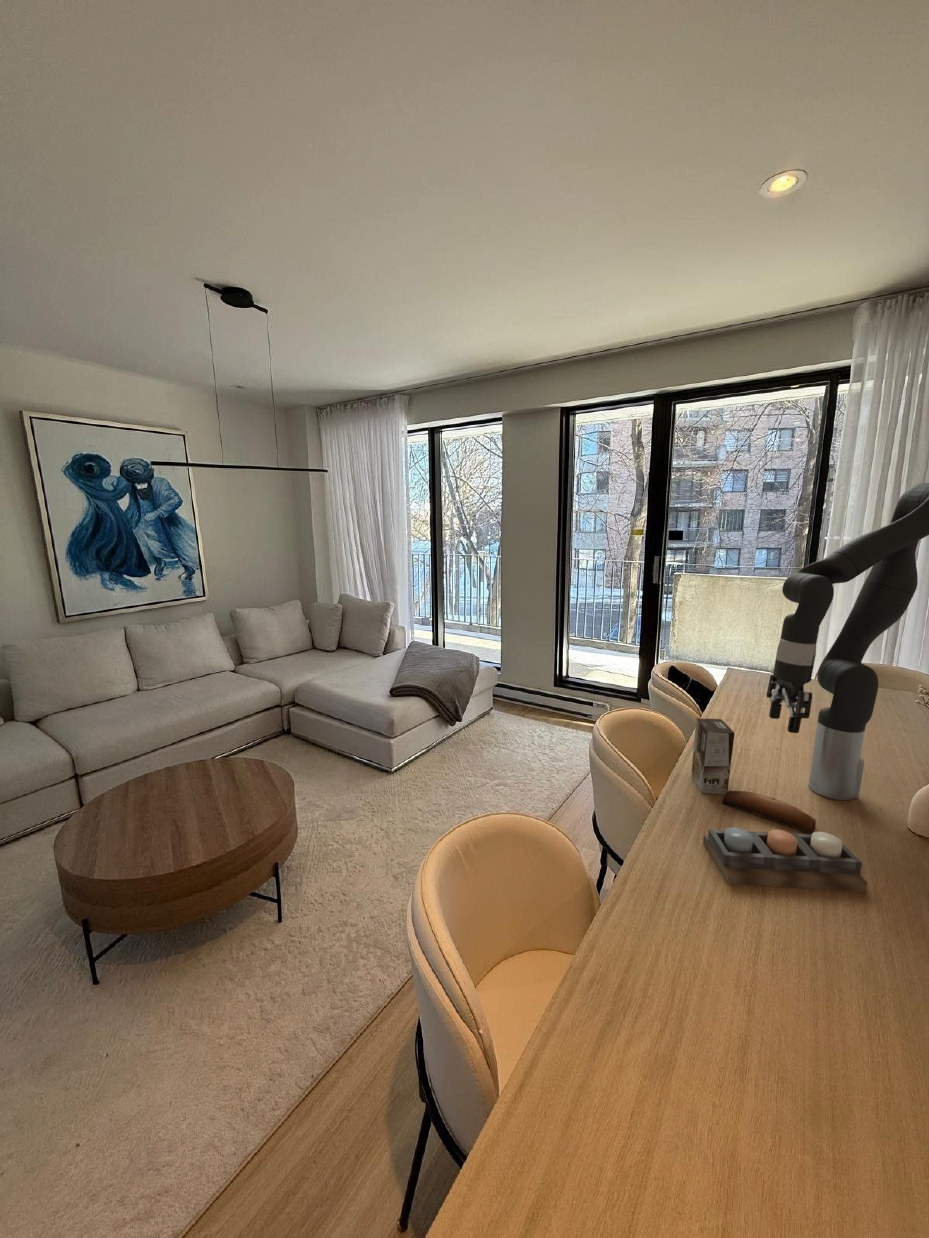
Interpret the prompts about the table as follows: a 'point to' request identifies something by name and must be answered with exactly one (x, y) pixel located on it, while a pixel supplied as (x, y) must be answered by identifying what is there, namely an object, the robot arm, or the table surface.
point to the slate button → (738, 840)
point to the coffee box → (712, 755)
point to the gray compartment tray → (785, 865)
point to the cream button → (826, 845)
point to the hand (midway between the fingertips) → (783, 724)
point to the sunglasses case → (770, 809)
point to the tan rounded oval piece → (781, 843)
